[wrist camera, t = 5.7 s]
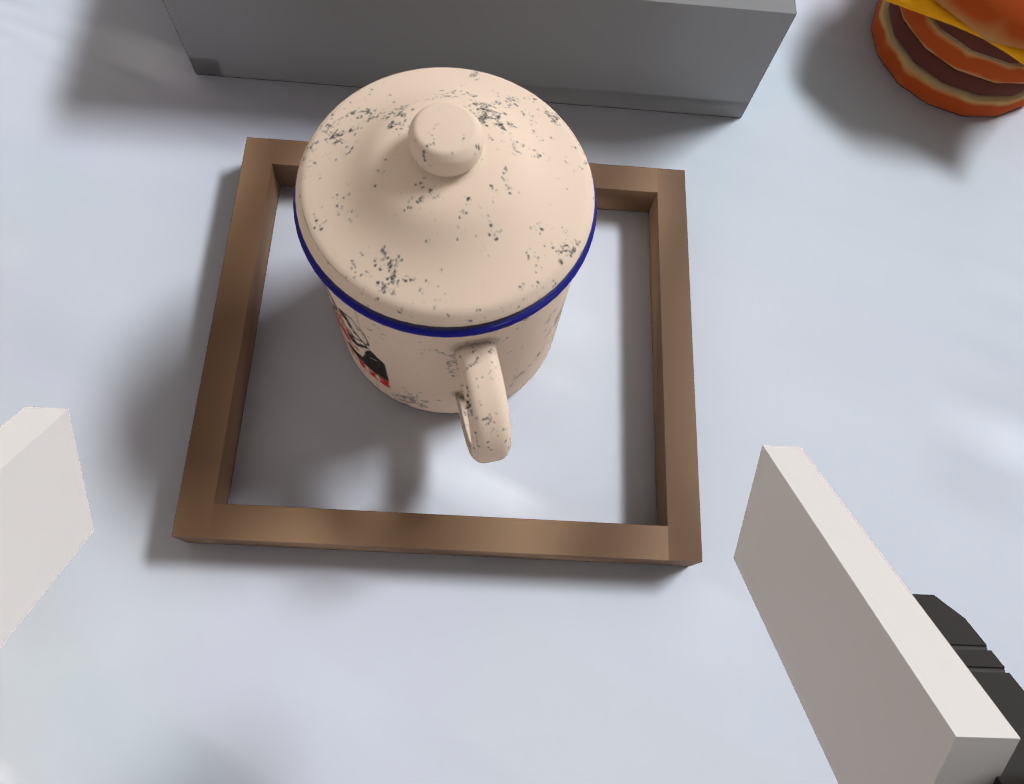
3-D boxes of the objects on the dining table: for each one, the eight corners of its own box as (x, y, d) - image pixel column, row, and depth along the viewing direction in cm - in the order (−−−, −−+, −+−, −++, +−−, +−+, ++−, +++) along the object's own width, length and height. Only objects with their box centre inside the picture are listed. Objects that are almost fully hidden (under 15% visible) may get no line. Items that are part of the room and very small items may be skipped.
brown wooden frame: (674, 190, 33) (684, 170, 32) (689, 566, 28) (702, 561, 26) (256, 159, 32) (247, 137, 31) (186, 542, 27) (171, 536, 25)
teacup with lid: (322, 237, 31) (248, 11, 20) (532, 204, 32) (572, -24, 21) (367, 516, 27) (306, 429, 16) (602, 468, 29) (692, 357, 18)
